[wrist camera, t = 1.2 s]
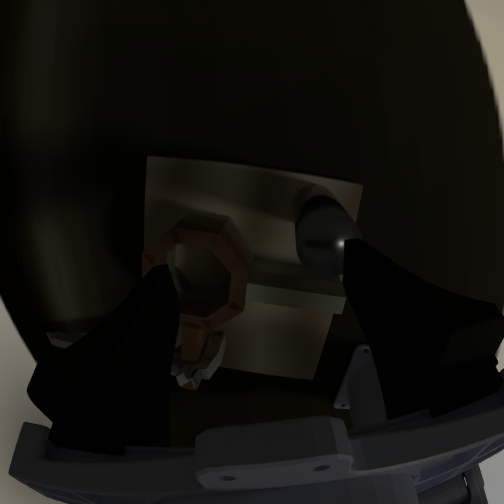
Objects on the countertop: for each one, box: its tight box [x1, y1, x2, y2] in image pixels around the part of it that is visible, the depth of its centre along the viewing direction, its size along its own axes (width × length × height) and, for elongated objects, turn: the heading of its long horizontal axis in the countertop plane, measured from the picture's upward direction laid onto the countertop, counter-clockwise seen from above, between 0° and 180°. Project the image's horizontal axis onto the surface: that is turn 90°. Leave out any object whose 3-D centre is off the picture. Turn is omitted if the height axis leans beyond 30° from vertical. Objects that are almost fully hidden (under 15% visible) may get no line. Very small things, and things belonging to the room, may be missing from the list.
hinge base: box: [142, 155, 363, 391], centre depth 23 cm, size 15×17×5 cm
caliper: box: [46, 331, 227, 389], centre depth 25 cm, size 20×1×6 cm, turn 100°
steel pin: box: [293, 184, 363, 277], centre depth 18 cm, size 3×3×8 cm
